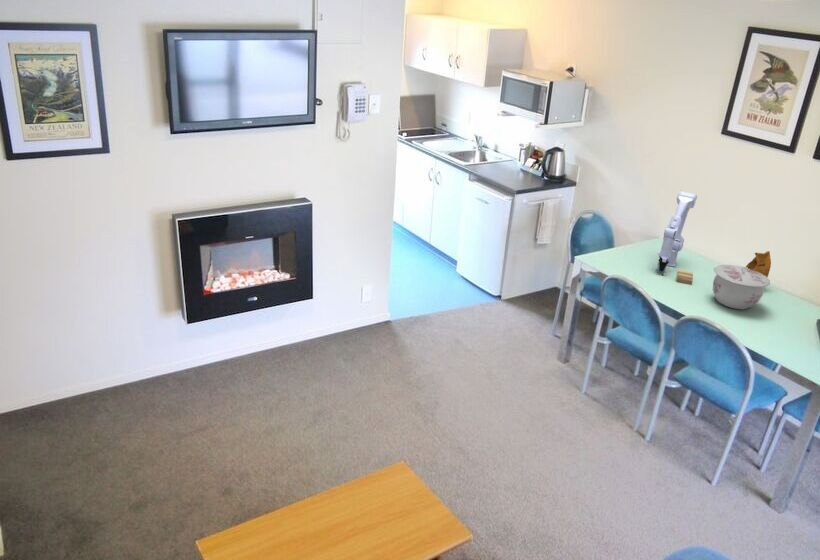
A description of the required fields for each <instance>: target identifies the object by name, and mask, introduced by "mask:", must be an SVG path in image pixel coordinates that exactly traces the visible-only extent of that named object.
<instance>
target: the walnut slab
mask: <svg viewBox="0 0 820 560" xmlns="http://www.w3.org/2000/svg"><path fill="white" fill-rule="evenodd" d="M676 283H680V284H683V285H689V286H692V285H693V284H692V283H693V281H692V282H691V281H686V280H682V279H677V278H676Z"/></svg>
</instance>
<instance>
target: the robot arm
mask: <svg viewBox="0 0 820 560" xmlns="http://www.w3.org/2000/svg"><path fill="white" fill-rule="evenodd" d="M697 198H698V195H697V194H696V193H691V192H686V191H682V190H680V191H678V193H677V196H676V203H677V206H676V207H677V208H676V211H675V214H674V215H673V216H671V218H670V220H669V224H668V225H667V227H665V229H664V232H663V237H662V239H663V241H662V243H661V248H660V251H659V252H657V256H658V257H659V259H658V263H659V271H661V272H663V271H664V269H665V267H666V265H667V267H672V268H673V267H675V268H676V265H677V264H676V263H677V258H678V255H679V252H681V251H682V249H683V247H684V242H685V239H684V237H683V236H682V232H683V229H684V226H685V222H686V219H687V217H688V213H689V212H690V209H693V208H694V207H695V205H696V201H697ZM667 267H666V268H667Z"/></svg>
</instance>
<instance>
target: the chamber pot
mask: <svg viewBox="0 0 820 560" xmlns="http://www.w3.org/2000/svg"><path fill="white" fill-rule="evenodd" d="M713 271H714V273H715V276H714V277H713V282H712V292H713V295H714V297H715V300H716V301H717V302H718V303H720V304H722V305H723V306H725V307H728V308H730V309H735V310H749V309H750V308H753V307H754V306H755V305H756V304H758V303H759V302H760V301H761V299H762V297H763V295H764V292H765V287H767V286H769V285H771V280H770V279H769V277H766V276H765V275H763V274H761V273H759V272H757V271H755V270H752V269H749V268H748V267H746V266H745V267H744V266H740V265H735V264H734V265H732V264H720V265H717V266H715V267H714V268H713Z"/></svg>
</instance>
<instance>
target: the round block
mask: <svg viewBox="0 0 820 560" xmlns="http://www.w3.org/2000/svg"><path fill="white" fill-rule="evenodd" d="M667 268H668V265H666V267H665V269H664V271H663V272H661V271H659V262H658V263H657V265H656V270H655V271H656V272H657V273H659V274H666V270H667Z"/></svg>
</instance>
